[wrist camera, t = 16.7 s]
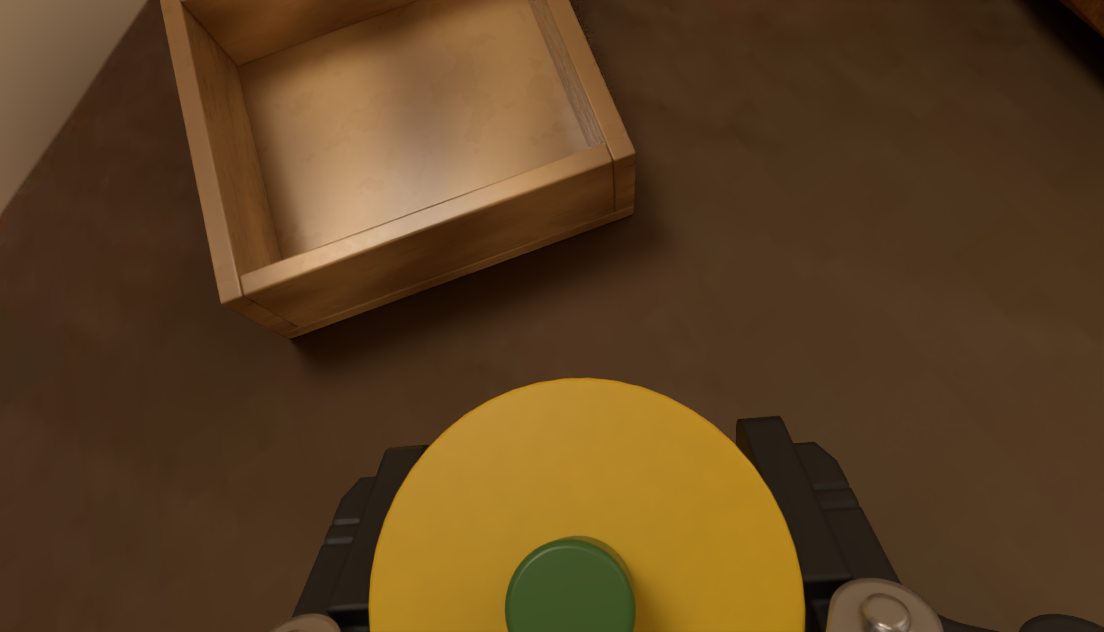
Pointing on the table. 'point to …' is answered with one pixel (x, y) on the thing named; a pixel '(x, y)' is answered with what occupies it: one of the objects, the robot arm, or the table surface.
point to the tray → (388, 145)
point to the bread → (1088, 12)
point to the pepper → (585, 523)
